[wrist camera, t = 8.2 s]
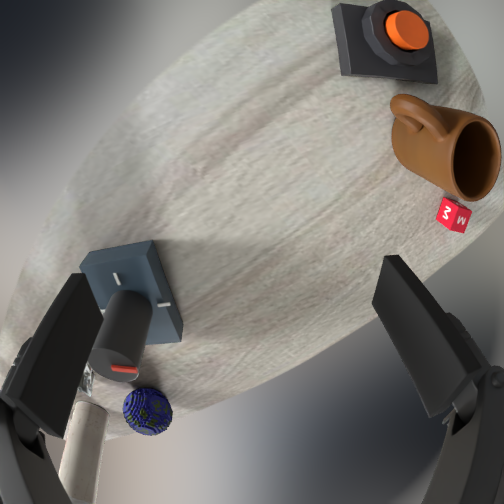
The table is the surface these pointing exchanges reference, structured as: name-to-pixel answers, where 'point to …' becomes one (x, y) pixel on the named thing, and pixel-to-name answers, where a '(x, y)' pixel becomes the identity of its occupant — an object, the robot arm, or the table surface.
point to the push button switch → (380, 44)
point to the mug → (446, 146)
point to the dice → (453, 215)
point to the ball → (147, 411)
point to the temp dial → (122, 337)
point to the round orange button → (406, 30)
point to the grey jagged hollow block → (87, 380)
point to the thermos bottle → (84, 453)
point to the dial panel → (135, 285)
